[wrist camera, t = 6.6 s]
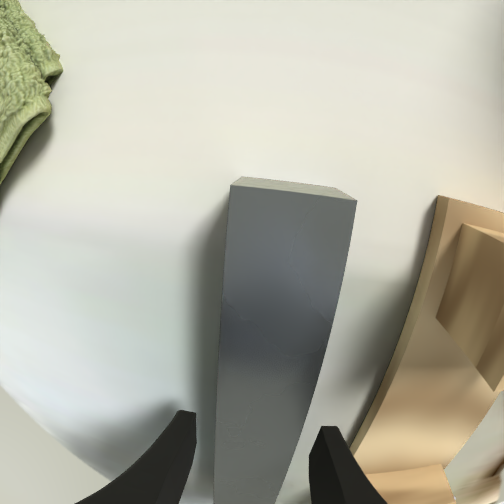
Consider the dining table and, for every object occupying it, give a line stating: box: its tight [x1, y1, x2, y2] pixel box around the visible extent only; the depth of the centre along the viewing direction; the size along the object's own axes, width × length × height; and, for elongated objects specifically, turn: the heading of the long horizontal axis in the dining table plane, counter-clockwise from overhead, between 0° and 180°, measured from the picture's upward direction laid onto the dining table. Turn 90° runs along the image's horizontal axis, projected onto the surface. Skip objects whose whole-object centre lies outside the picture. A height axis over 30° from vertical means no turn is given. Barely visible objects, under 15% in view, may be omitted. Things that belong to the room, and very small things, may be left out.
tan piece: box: [349, 195, 504, 504], centre depth 10 cm, size 19×8×5 cm, turn 174°
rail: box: [213, 177, 357, 504], centre depth 11 cm, size 18×3×3 cm, turn 174°
